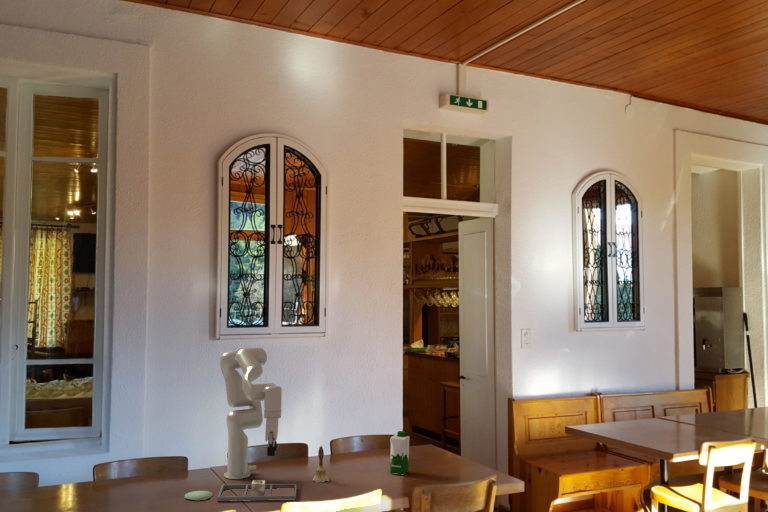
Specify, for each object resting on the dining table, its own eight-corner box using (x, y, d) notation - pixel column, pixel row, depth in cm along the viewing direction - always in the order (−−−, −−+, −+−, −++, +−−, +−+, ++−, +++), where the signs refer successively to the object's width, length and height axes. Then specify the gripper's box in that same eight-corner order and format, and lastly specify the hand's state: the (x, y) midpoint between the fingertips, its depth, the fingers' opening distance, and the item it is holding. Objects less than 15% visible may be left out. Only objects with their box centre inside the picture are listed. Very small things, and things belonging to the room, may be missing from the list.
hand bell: (316, 483, 328) (316, 449, 328) (309, 478, 335) (310, 445, 335) (332, 481, 331) (333, 447, 332) (325, 476, 339) (326, 443, 339)
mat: (204, 490, 313) (205, 489, 313) (217, 497, 304) (217, 495, 304) (179, 495, 305) (179, 494, 305) (192, 503, 296) (192, 501, 296)
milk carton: (410, 471, 350) (411, 431, 351) (404, 476, 342) (405, 435, 342) (394, 469, 354) (395, 430, 354) (387, 474, 345) (388, 433, 346)
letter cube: (264, 492, 311) (265, 480, 311) (264, 496, 305) (264, 483, 305) (252, 492, 310) (252, 480, 310) (251, 496, 304) (251, 483, 305)
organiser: (296, 489, 318) (296, 483, 318) (295, 501, 301) (295, 495, 301) (222, 490, 314) (222, 484, 314) (217, 503, 297) (217, 497, 297)
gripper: (266, 410, 317) (265, 448, 317) (262, 417, 300) (261, 458, 299) (282, 410, 318) (281, 448, 317) (279, 417, 301) (279, 458, 300)
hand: (271, 453), depth 308 cm, fingers open, 9 cm apart
